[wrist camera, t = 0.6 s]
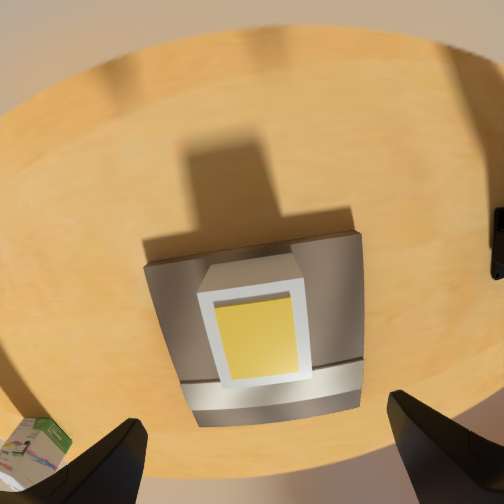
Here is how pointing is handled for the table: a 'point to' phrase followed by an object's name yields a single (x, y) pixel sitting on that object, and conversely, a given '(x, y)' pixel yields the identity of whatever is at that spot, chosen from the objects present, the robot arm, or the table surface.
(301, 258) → the subfloor board
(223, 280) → the block
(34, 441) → the ink box
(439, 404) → the table surface
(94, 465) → the robot arm
